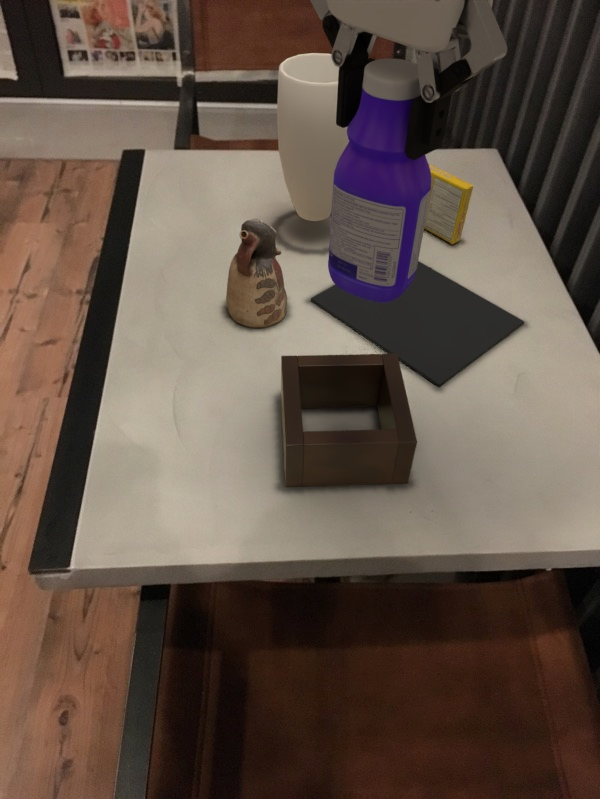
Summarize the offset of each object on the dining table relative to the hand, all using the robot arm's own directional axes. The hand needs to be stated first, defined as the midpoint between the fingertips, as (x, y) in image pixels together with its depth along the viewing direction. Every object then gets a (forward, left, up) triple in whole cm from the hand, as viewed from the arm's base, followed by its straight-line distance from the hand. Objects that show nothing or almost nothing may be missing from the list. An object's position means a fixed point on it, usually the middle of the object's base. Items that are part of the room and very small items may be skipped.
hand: (387, 134), depth 48 cm
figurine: (+20, -4, -30) cm, 37 cm away
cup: (+28, -21, -30) cm, 47 cm away
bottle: (0, 0, -13) cm, 13 cm away
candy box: (+21, -34, -30) cm, 51 cm away
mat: (+7, -18, -30) cm, 36 cm away
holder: (-1, +3, -30) cm, 30 cm away
